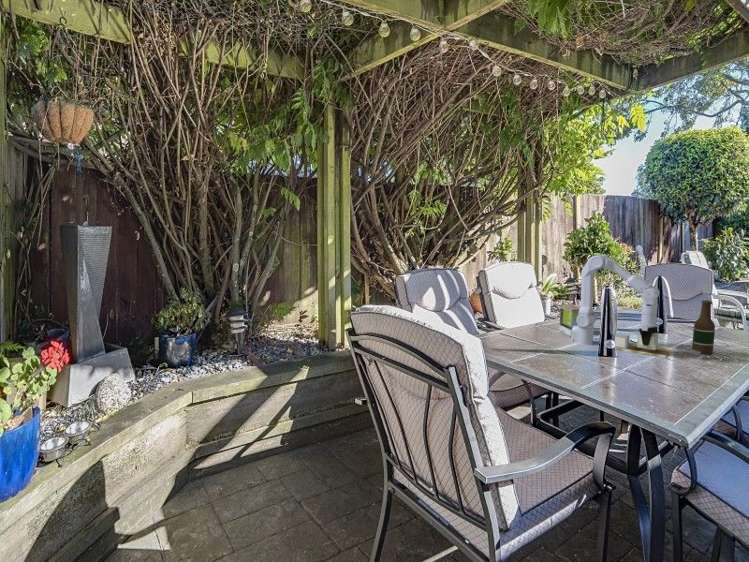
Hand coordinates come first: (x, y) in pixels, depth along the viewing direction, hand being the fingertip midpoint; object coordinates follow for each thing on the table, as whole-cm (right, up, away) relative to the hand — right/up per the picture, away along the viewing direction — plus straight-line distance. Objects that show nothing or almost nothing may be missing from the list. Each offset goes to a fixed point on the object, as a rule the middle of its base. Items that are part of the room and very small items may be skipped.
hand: (646, 344), depth 199 cm
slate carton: (-8, -3, +8) cm, 12 cm away
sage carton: (0, -2, 0) cm, 2 cm away
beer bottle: (+28, -5, +5) cm, 29 cm away
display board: (+1, -4, +7) cm, 8 cm away
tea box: (-14, -1, +42) cm, 44 cm away
